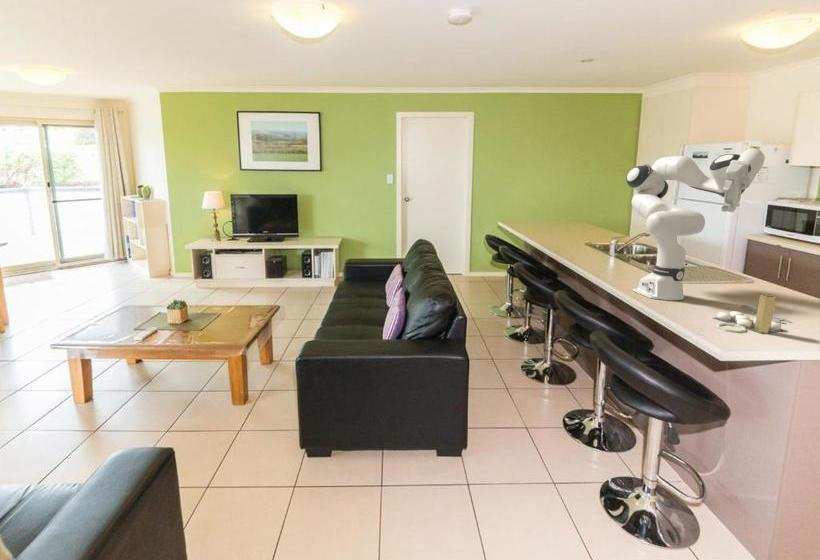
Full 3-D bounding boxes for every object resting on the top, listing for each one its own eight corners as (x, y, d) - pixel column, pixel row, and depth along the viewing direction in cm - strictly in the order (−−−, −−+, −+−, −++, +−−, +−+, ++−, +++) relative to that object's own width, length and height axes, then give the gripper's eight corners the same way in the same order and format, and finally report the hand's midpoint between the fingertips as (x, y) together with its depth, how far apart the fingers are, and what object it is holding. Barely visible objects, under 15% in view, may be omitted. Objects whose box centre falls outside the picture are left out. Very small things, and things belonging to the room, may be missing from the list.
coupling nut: (752, 331, 177) (758, 295, 174) (757, 328, 180) (763, 293, 177) (766, 334, 174) (773, 298, 171) (770, 331, 177) (777, 296, 174)
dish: (710, 328, 183) (711, 324, 183) (728, 325, 186) (728, 321, 185) (732, 335, 175) (733, 331, 175) (750, 333, 178) (751, 329, 177)
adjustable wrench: (738, 308, 210) (739, 304, 210) (754, 308, 210) (754, 304, 209) (777, 326, 186) (778, 322, 185) (795, 327, 185) (796, 322, 185)
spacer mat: (711, 320, 192) (712, 313, 192) (734, 316, 196) (735, 310, 196) (762, 336, 174) (763, 329, 173) (786, 332, 178) (787, 325, 177)
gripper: (729, 197, 204) (714, 219, 199) (731, 156, 191) (716, 178, 186) (746, 200, 200) (731, 222, 195) (750, 158, 186) (735, 181, 182)
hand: (724, 200), depth 190 cm, fingers open, 8 cm apart
